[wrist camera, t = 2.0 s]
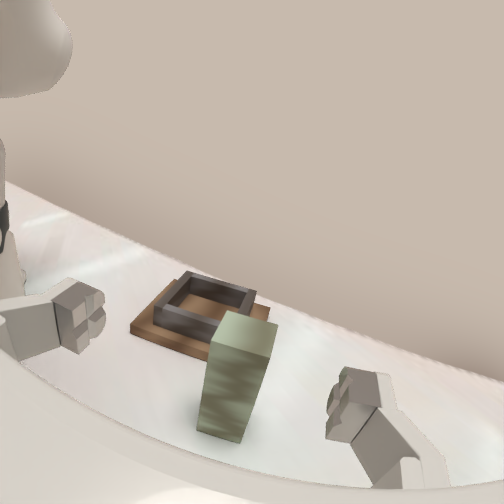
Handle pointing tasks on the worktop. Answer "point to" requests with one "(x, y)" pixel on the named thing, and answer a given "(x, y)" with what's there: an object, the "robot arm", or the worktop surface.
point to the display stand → (194, 313)
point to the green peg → (234, 374)
